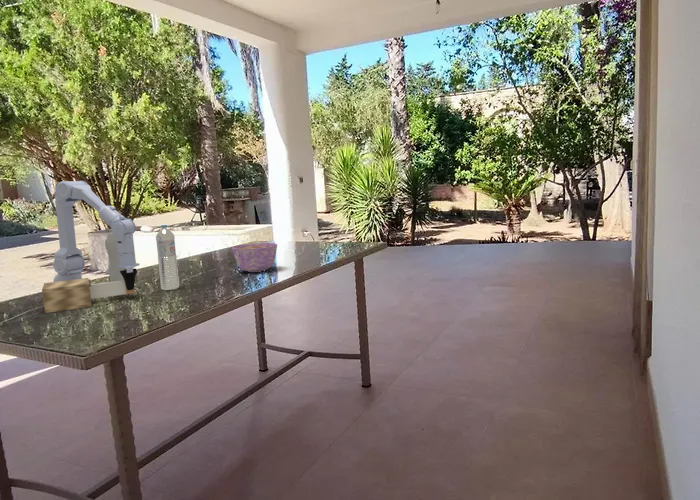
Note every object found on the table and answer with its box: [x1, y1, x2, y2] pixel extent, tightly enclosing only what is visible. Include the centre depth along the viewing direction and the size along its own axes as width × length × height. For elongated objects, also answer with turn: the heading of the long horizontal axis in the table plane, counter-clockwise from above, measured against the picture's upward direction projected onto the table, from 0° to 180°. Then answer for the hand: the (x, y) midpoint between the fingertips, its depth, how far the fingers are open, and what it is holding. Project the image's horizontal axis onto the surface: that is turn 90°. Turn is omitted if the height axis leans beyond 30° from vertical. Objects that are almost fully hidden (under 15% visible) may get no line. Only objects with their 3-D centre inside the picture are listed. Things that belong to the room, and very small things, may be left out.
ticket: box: [89, 280, 136, 300], centre depth 188 cm, size 19×1×5 cm, turn 117°
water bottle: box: [155, 224, 180, 291], centre depth 202 cm, size 7×7×25 cm
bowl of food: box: [231, 242, 278, 273], centre depth 233 cm, size 20×20×12 cm
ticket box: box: [41, 277, 93, 314], centre depth 183 cm, size 15×14×8 cm
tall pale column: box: [104, 231, 125, 282], centre depth 223 cm, size 11×4×22 cm, turn 86°
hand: (130, 289), depth 192 cm, fingers closed on ticket
